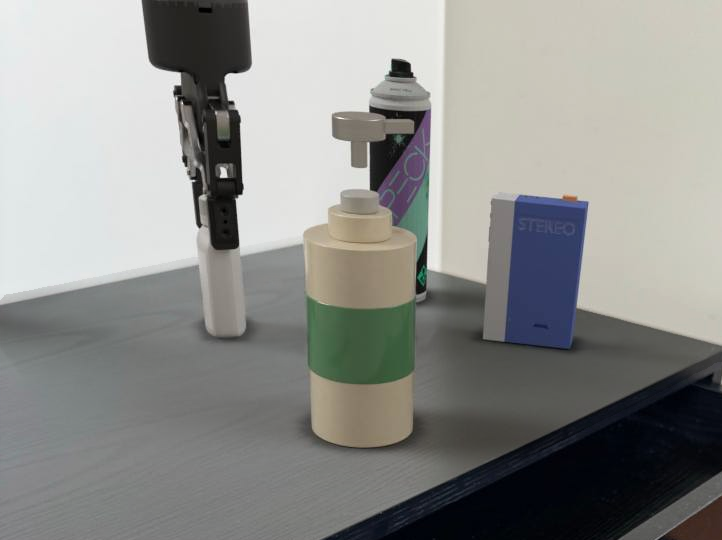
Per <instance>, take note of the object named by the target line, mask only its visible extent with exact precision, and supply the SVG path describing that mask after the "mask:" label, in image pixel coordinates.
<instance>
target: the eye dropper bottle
mask: <svg viewBox="0 0 722 540" xmlns="http://www.w3.org/2000/svg"><path fill="white" fill-rule="evenodd" d="M198 199H199V209H200V218H201V223H202V224H203V225H202V226H201V228H200V229H199V228H198V231H197V233H196V250H197V259H198V269H199V279H200V280H199V281H200V288H201V289H200V290H201V297H202V298H201V299H202V308H203V316H204V325H205V329H206V331H207V333H208V334H209V335H211V336H212V337H215V338H238V337H241V336H242V335H243V334H244V333H245V332H246V329H247V320H246V319H247V318H246V308H245V296H244V295H245V294H244V284H243V283H244V282H243V272H242V271H243V269H242V260H241V259H242V258H241V248H240V247H241V246H240V245H241V244H239V247H238V248H237V249H232V250H216V249H214V248H213V247H212V245H211V244H210V237H209V227H208V217H207V207H206V198H205V194H203V195H201V196H200V197H199V198H198Z"/></svg>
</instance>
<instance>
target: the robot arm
mask: <svg viewBox="0 0 722 540" xmlns="http://www.w3.org/2000/svg"><path fill="white" fill-rule="evenodd" d="M140 2H141V7H142V9H141V10H142V17H143V25H144V34H145V41H146V48H147V50H146V51H147V58H148V62H149V63H150V64H151V66H152V67H154V68H155V69H158V70H161V71H165V72H171V73H178V74H180V85H178V84H176V85H175V84H174V86H173V90H172V96H173V98H174V109H175V114H176V115H177V122H178V130H179V143H180V146H181V147H180V148H181V153H182V155H181V161H182V163H183V165H184V168H186V175H187V176H188V179H189V181H191V191H192V200H193V209H194V217H195V218H194V219H195V225H196V227H197V228H198V230H199V229H200V228H201V226H202V225H203V224H202V223H201V218H200V209H199V199H198V198H199V197H200V196H201V195H203V194H205V198H206V207H207V217H208V227H209V237H210V244H211V245H212V247H213V248H214V249H216V250H232V249H237V248H238V247H239V245H240V231H239V222H238V221H239V220H238V219H239V218H238V209H237V199H239V196H243V194H244V190H245V186H244V185H245V184H244V182H243V162H242V161H243V160H242V159H243V158H242V139H241V135H242V134H241V123H242V119H241V118H242V117H241V115H240V113H239V110H238V109H237V107H236V103H235V101H234V100H229V97H228V90H227V83H226V76H227V75H230V74H235V75H237V74H243V73H246V72H248V71H250V70H251V68H252V65H253V55H252V43H251V42H252V41H251V28H250V27H251V26H250V15H249V14H250V11H249V0H141V1H140ZM221 168H223V169H224V170H225V171H226V177H221V176H222V170H221Z"/></svg>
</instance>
